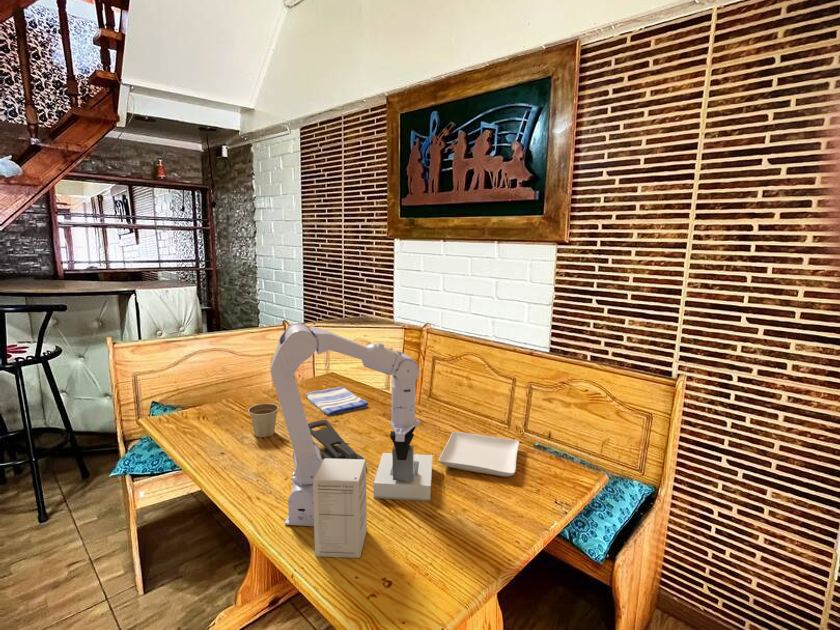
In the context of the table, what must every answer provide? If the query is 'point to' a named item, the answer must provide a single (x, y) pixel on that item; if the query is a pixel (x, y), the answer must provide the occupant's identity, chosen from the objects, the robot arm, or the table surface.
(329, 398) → the dish towel
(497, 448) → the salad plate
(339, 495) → the supplement box
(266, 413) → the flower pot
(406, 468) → the bracket
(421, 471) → the well block
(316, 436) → the zipper pull
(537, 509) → the table surface
